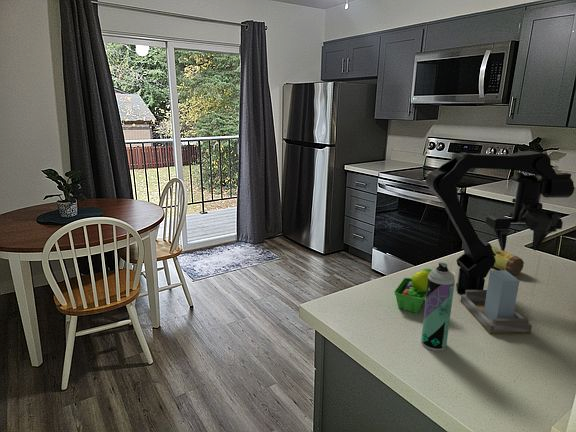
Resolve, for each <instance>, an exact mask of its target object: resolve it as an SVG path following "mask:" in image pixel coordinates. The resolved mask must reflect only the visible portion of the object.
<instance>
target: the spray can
mask: <svg viewBox="0 0 576 432" xmlns="http://www.w3.org/2000/svg"><path fill="white" fill-rule="evenodd" d="M455 281H456V275H455V274H454V273H452V272H450V269H449V268H448V264H447V263H444V262H439V263H438V266H437V267H435V269H431V271H430V272H429V275H428V283H427V292H426V298H425V300H424V302H425V303H424V312H423V321H422V329H421V340H420V343H421V345H422V347H423V348H425V349H426V350H429V351H431V350H432V352H443V351H445V350H446V348H447V344H448V337H449V336H448V335H449V329H450V321H451V315H452V314H451V313H452V304H453V300H454V299H453V298H454V291H455V290H454V289H455Z"/></svg>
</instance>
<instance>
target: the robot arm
mask: <svg viewBox="0 0 576 432" xmlns="http://www.w3.org/2000/svg"><path fill="white" fill-rule="evenodd" d="M552 165H553V164H552V162H551V157H550V156H549V154H547V153H543V152H539V151H533V150H523V151H517V152H514V153H508V154H501V153H500V154H499V153H497V154H496V153H495V154H494V153H468V152H464V151H463V152H459V153H457V154H456V155H455V156H454V157H453V158H451V159H450V160H449V161H447V162H445V163H443V164H441V165H440V166H438V168H436V169H434V170H431V171H430V172H429V173H428V174H427V175H426V178H425V184H426V186H427V187H428V188H429V190H430V191H431V192H432V194H434V196H435V197H436V198H437V199H438V200H439V202H441V204H442V205H443V207H444V209H445V211H446V213H447V215H448V216H449V218H450V220H451V222H452V224H453V226H454V228H455V229H456V232H457V233H458V235H459V237H460V239H461V241H462V249H463V252H464V253H463V254H462V255H460V256H459V257H458V258H457V259H456V265H457V267H459V269H458V274H457V275H458V276H457V282H456V285H455V286H456V292H457V294H458V295H459V294H461V295H465V290H485V283H486V282H485V281H486V277H487V276H488V274H489V273H490V270H491V269H492V268H493V267H494V263H495V262H496V260H495V257H494V256H496V254H495V253H494V252H493V250H492V247H491V246H492V245H491V243H490V242H488V241H487V240H485V238H482V237H481V236H478V235H477V233H476V232H477V231H475V229H474V227H473V224H472V222H471V221H470V219H469V217H468V215H467V213H466V212H465V209H464V208H463V206H462V204H461V202H460V200H459V195H458V194H459V192H458V187H457V184H458V183H459V182H461V180H462V179H463V178H464V176H465V175H466V173H468V171H470V169H488V170H489V169H492V170H493V169H494V170H514V171H518V172H517V173H516V174H514V175H513V176H511V177H510V180H511V181H514V182H517V189H516V193H515V198H512V199H511V200H512V201H511V202H512V203H514V207H513V212H510V213H509V214H510V215H509V216H510V217H506V216H504V214H488V215H487V216H486V217H485V224H486V225H487V226H489V227H490V228H492V229H493V230H494V233H495V235H496V238H497V240H498V244H499V247H500V249H501V250H503V251H505V249H506V247H507V246H506V245H507V240H508V239H507V238H508V234H509V233H510V232H511V229H509V228H510V227H511V226H520V225H521V226H522V225H523V226H527V227H528V229H529V230H530V231H533V234H532V250H533V251H537V250H538V248H539V247H540V246H541V245H542V243H543V241H544V240H545V238H546V237H547V236H548V235H549V234H551V233H555V232H557V231H558V230H562V229H563V225H564V222H563V220H562V218H560V214H559V213H558V212H557V211H544V210H543V202H541V201H540V200H541V196H542V197H544V198H546V199H549V198H553V199H554V198H557V199H559V198H561V199H562V198H565V199H566V198H570V197H571V196H572V195H573V193H574V192H575V187H576V186H575V184H574V181H573V179H572V178H571V177H572V173H569V172H556V171H555V169H554V168H553V166H552ZM525 173H527V174H525ZM537 176H539V177H537Z"/></svg>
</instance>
